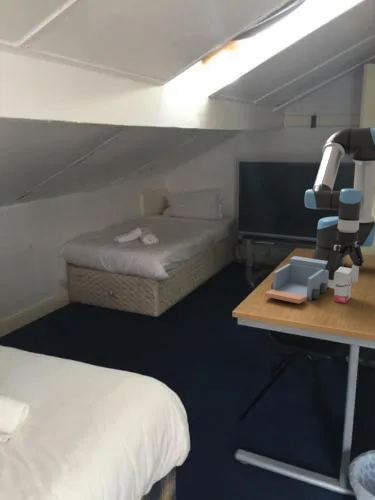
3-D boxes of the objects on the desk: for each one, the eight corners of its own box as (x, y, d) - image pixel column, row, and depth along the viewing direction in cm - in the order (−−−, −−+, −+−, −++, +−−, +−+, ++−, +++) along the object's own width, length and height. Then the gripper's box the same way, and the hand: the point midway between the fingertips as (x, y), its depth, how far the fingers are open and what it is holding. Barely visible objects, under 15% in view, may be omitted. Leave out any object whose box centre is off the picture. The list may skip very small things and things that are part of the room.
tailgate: (273, 289, 187) (264, 292, 181) (307, 295, 179) (299, 299, 173) (272, 293, 188) (264, 297, 181) (306, 300, 180) (299, 304, 174)
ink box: (346, 303, 178) (348, 273, 175) (332, 301, 180) (335, 271, 178) (350, 296, 185) (353, 267, 183) (338, 294, 188) (340, 266, 185)
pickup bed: (289, 279, 207) (290, 255, 204) (331, 287, 196) (333, 262, 194) (268, 293, 190) (269, 266, 187) (313, 302, 180) (315, 274, 177)
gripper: (359, 225, 186) (354, 277, 191) (317, 232, 172) (313, 287, 177) (376, 228, 180) (371, 281, 185) (334, 235, 166) (330, 293, 171)
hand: (343, 284), depth 181 cm, fingers open, 13 cm apart
